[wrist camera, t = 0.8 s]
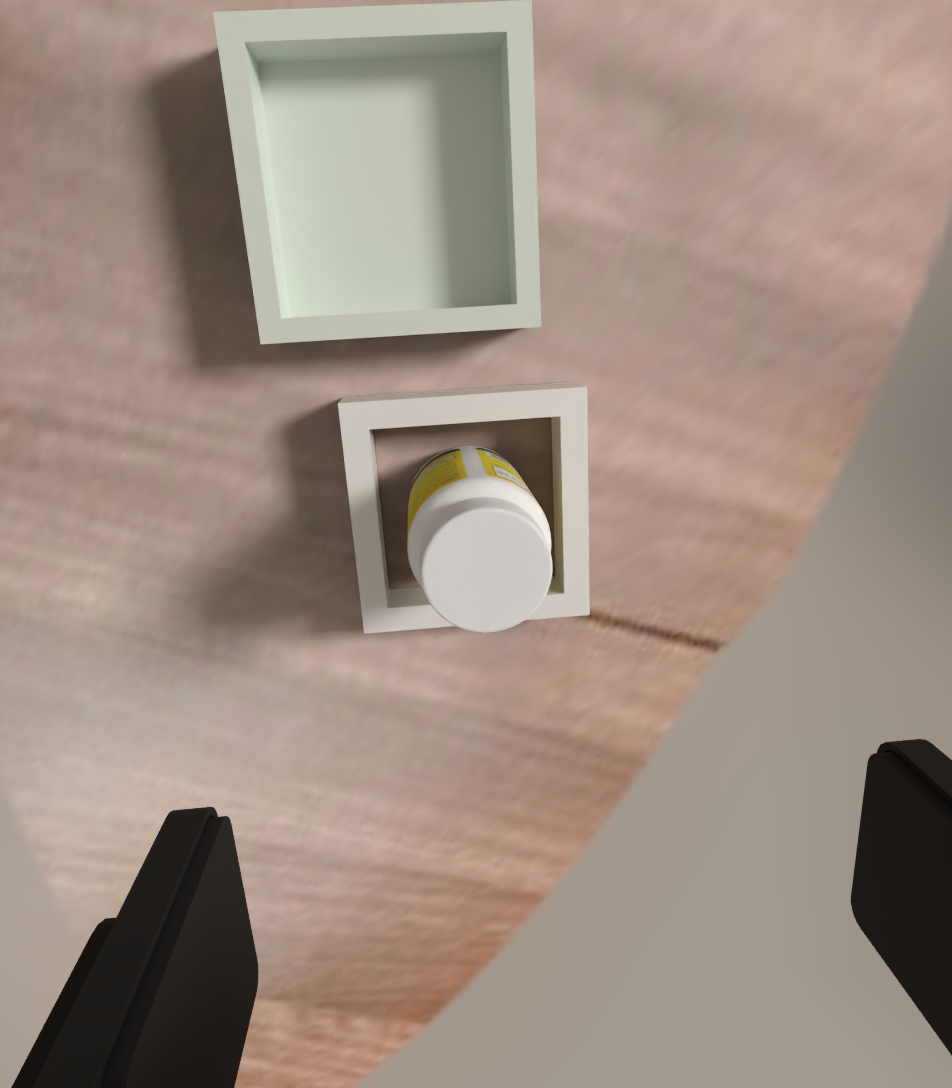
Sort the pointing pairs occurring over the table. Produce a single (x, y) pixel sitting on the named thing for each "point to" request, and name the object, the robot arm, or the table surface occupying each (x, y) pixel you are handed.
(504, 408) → the collar holder
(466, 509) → the supplement bottle
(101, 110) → the table surface
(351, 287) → the tray
